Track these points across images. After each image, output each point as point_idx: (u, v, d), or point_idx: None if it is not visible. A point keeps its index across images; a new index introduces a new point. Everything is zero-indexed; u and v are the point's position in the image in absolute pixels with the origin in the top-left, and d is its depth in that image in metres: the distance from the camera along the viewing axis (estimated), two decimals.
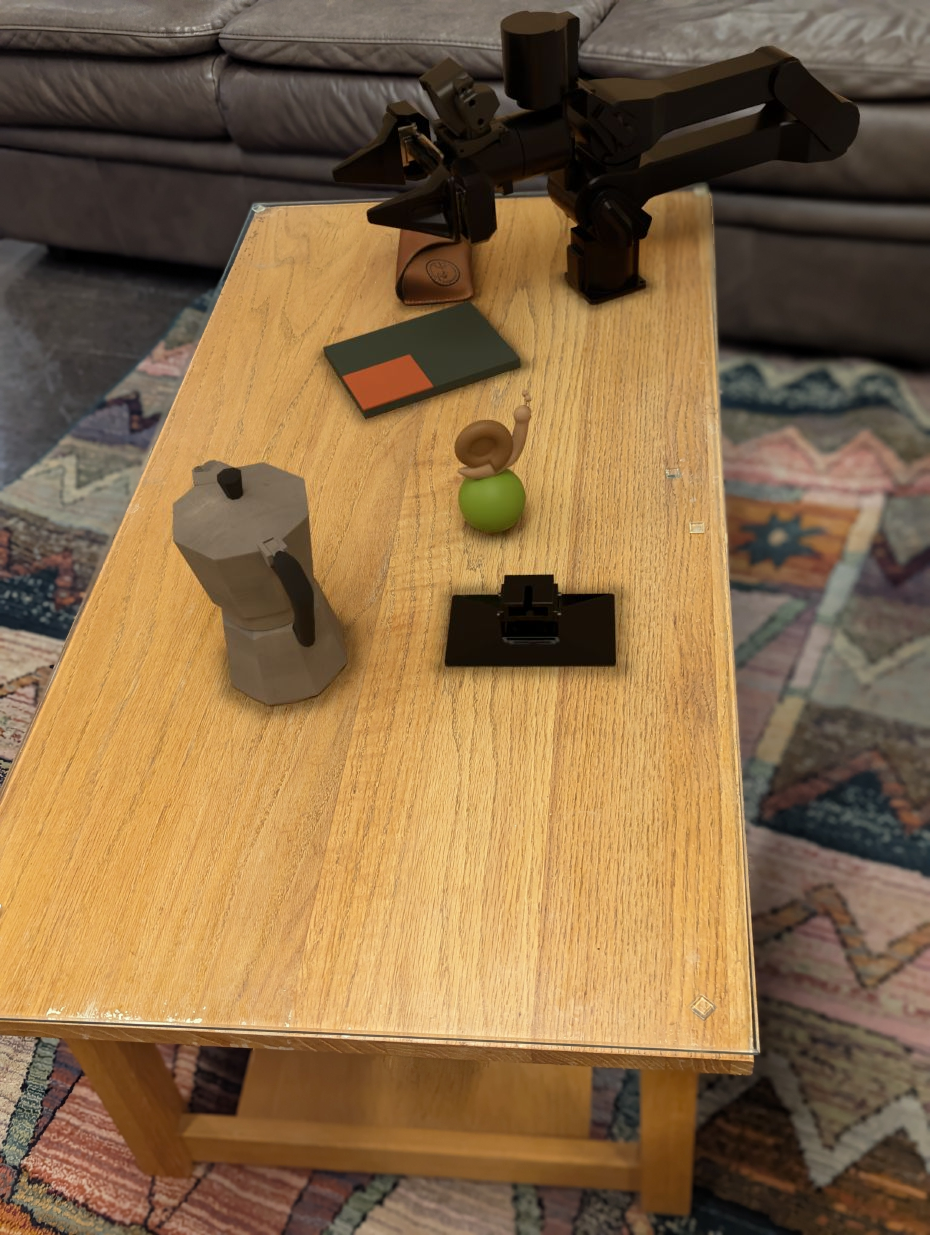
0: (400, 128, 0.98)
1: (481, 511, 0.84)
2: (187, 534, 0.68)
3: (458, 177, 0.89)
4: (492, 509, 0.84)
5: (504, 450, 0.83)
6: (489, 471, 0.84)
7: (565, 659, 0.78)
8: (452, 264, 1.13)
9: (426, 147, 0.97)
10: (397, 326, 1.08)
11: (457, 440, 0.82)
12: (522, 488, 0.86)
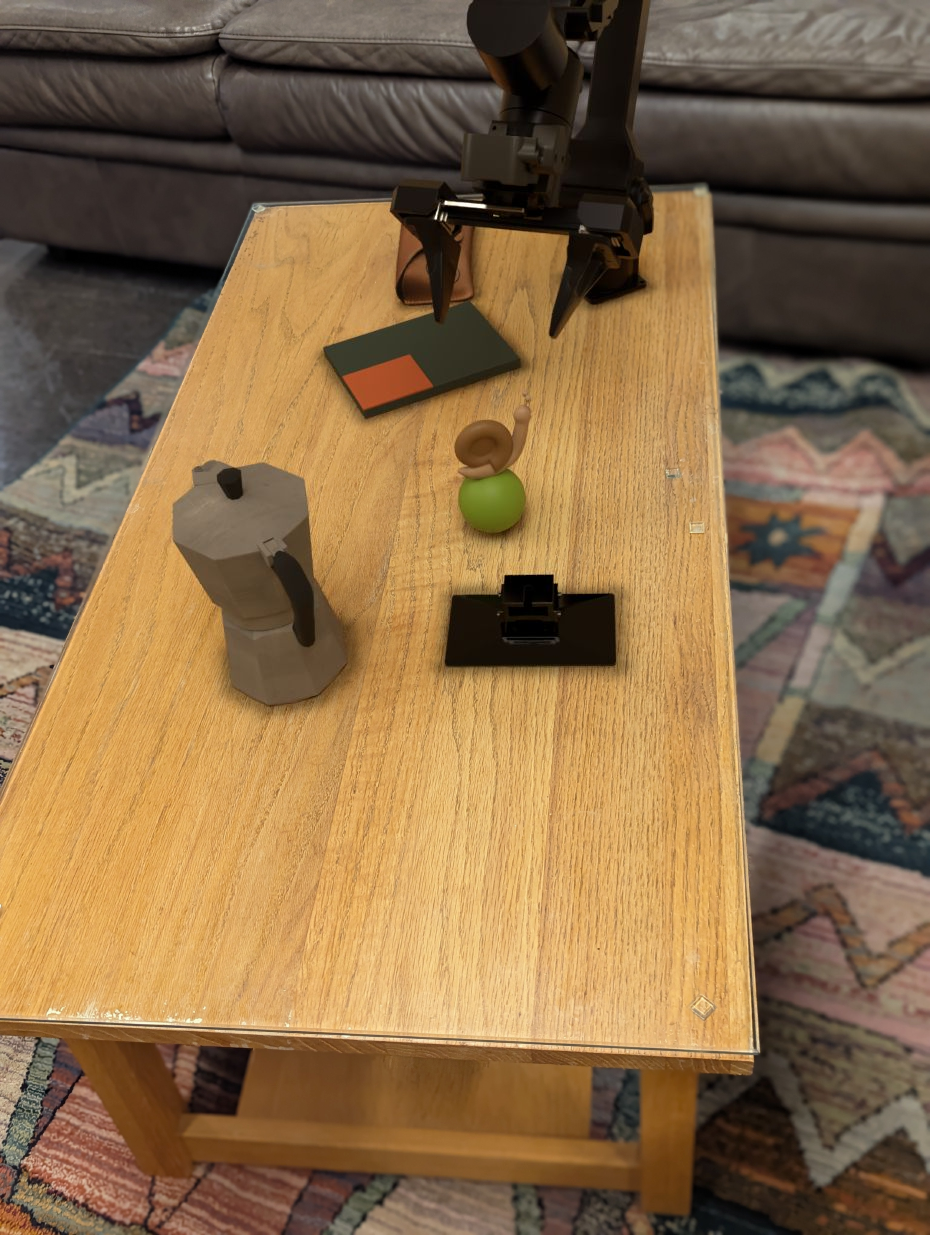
0: (436, 218, 0.82)
1: (481, 511, 0.84)
2: (187, 534, 0.68)
3: (607, 231, 0.77)
4: (492, 509, 0.84)
5: (504, 450, 0.83)
6: (489, 471, 0.84)
7: (565, 659, 0.78)
8: None
9: (481, 210, 0.82)
10: (397, 326, 1.08)
11: (457, 440, 0.82)
12: (522, 488, 0.86)
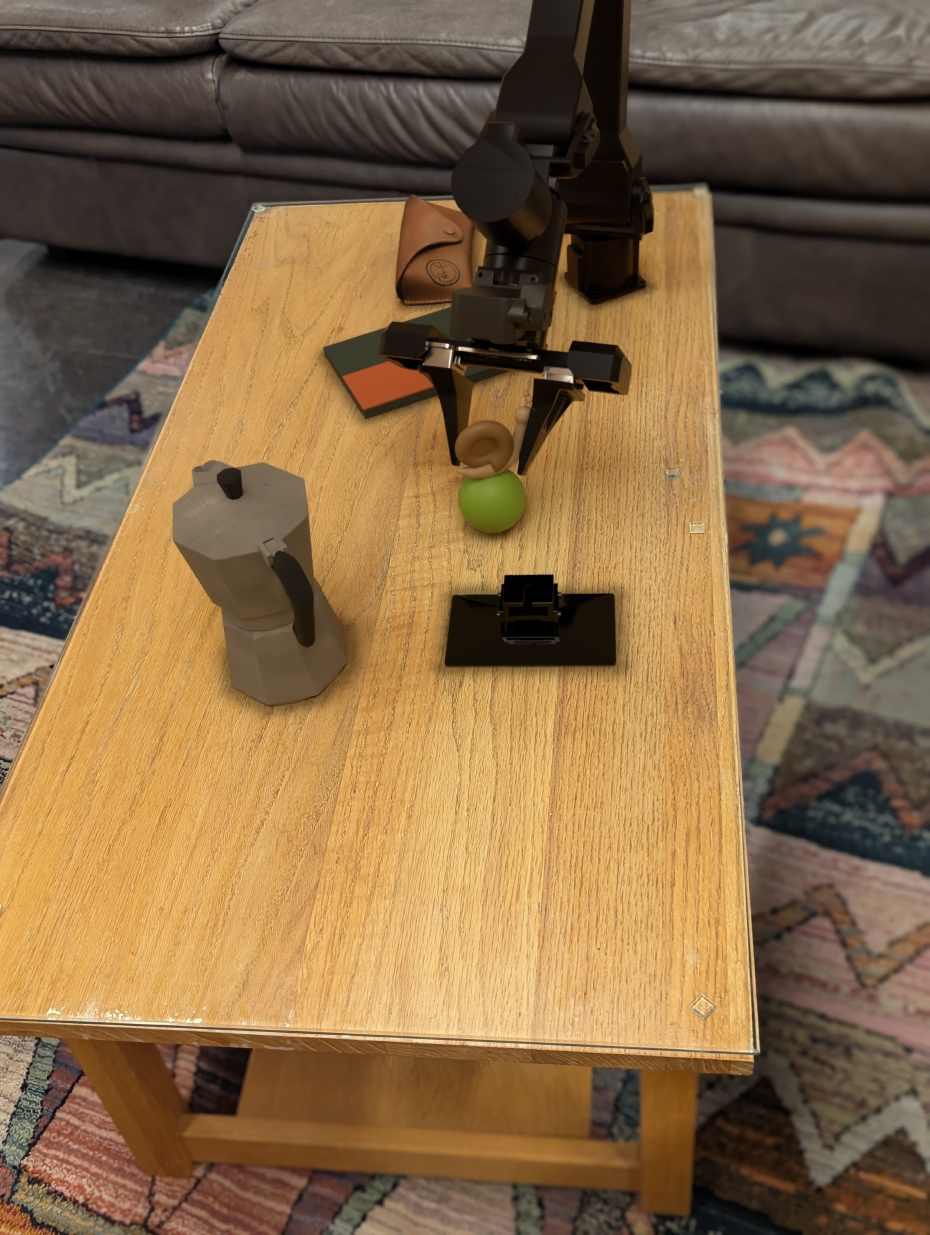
0: (450, 365, 0.81)
1: (481, 511, 0.84)
2: (187, 534, 0.68)
3: (597, 380, 0.78)
4: (492, 510, 0.84)
5: (504, 450, 0.82)
6: (489, 471, 0.84)
7: (565, 659, 0.78)
8: (452, 264, 1.13)
9: (494, 356, 0.81)
10: None
11: (458, 440, 0.81)
12: (522, 488, 0.86)
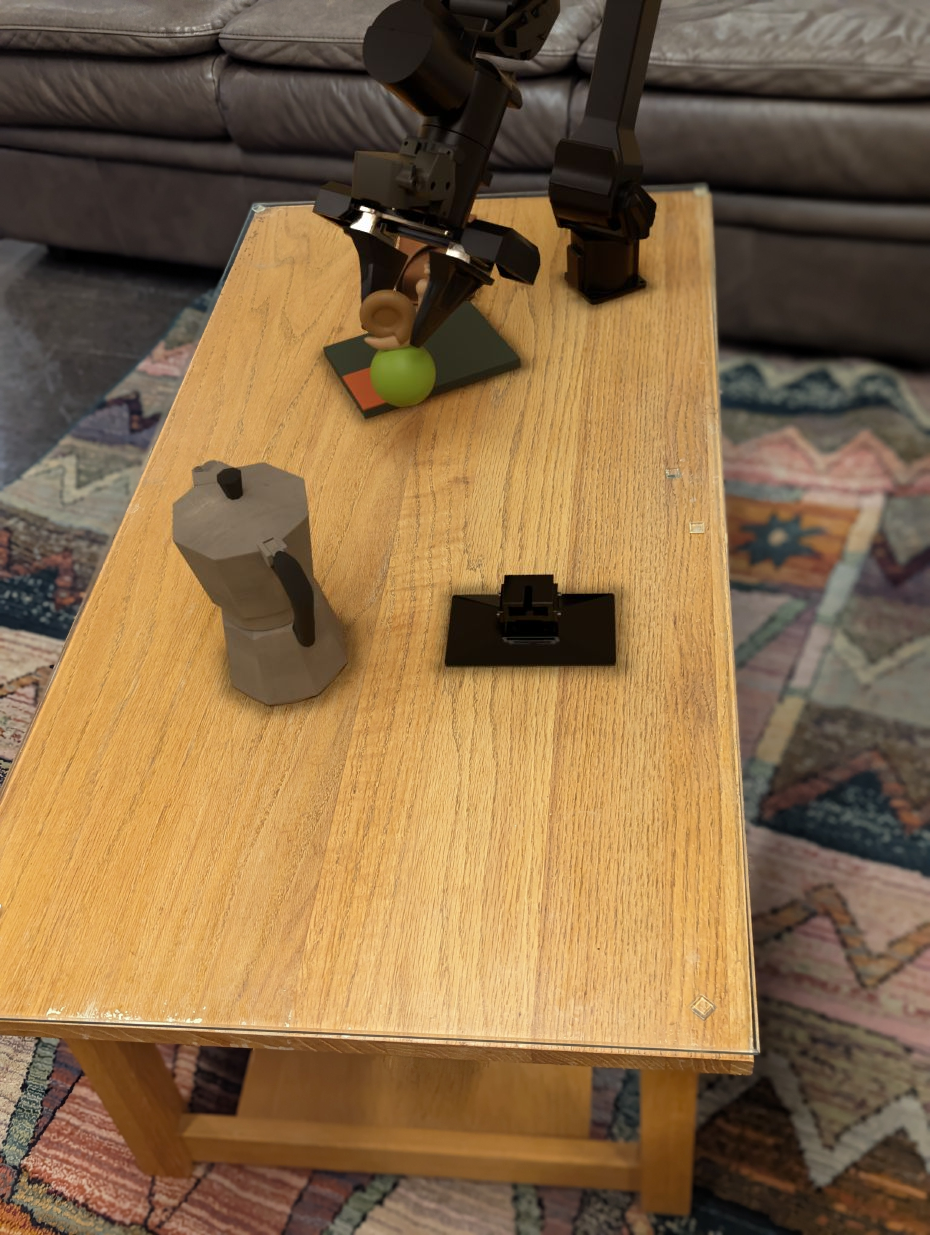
0: (372, 230, 0.84)
1: (383, 382, 0.87)
2: (187, 534, 0.68)
3: (485, 259, 0.79)
4: (393, 381, 0.87)
5: (406, 322, 0.85)
6: (394, 343, 0.86)
7: (565, 659, 0.78)
8: None
9: (414, 227, 0.83)
10: None
11: (360, 307, 0.84)
12: (429, 365, 0.88)
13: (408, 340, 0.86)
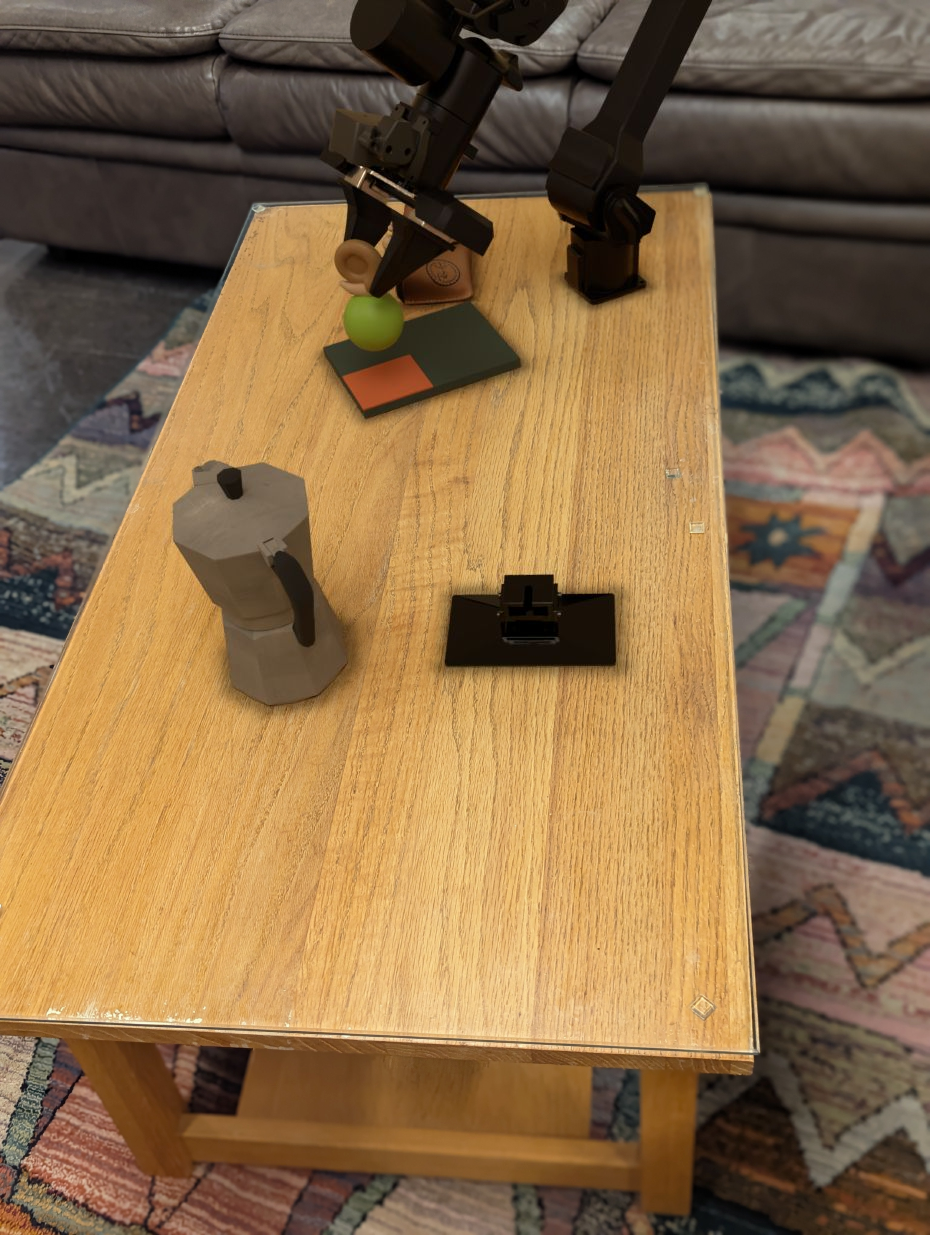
0: (359, 184, 0.92)
1: (349, 324, 0.95)
2: (187, 534, 0.68)
3: None
4: (356, 324, 0.95)
5: (372, 273, 0.92)
6: (363, 290, 0.94)
7: (565, 659, 0.78)
8: (452, 264, 1.13)
9: (393, 187, 0.91)
10: None
11: (335, 252, 0.93)
12: (393, 316, 0.95)
13: None
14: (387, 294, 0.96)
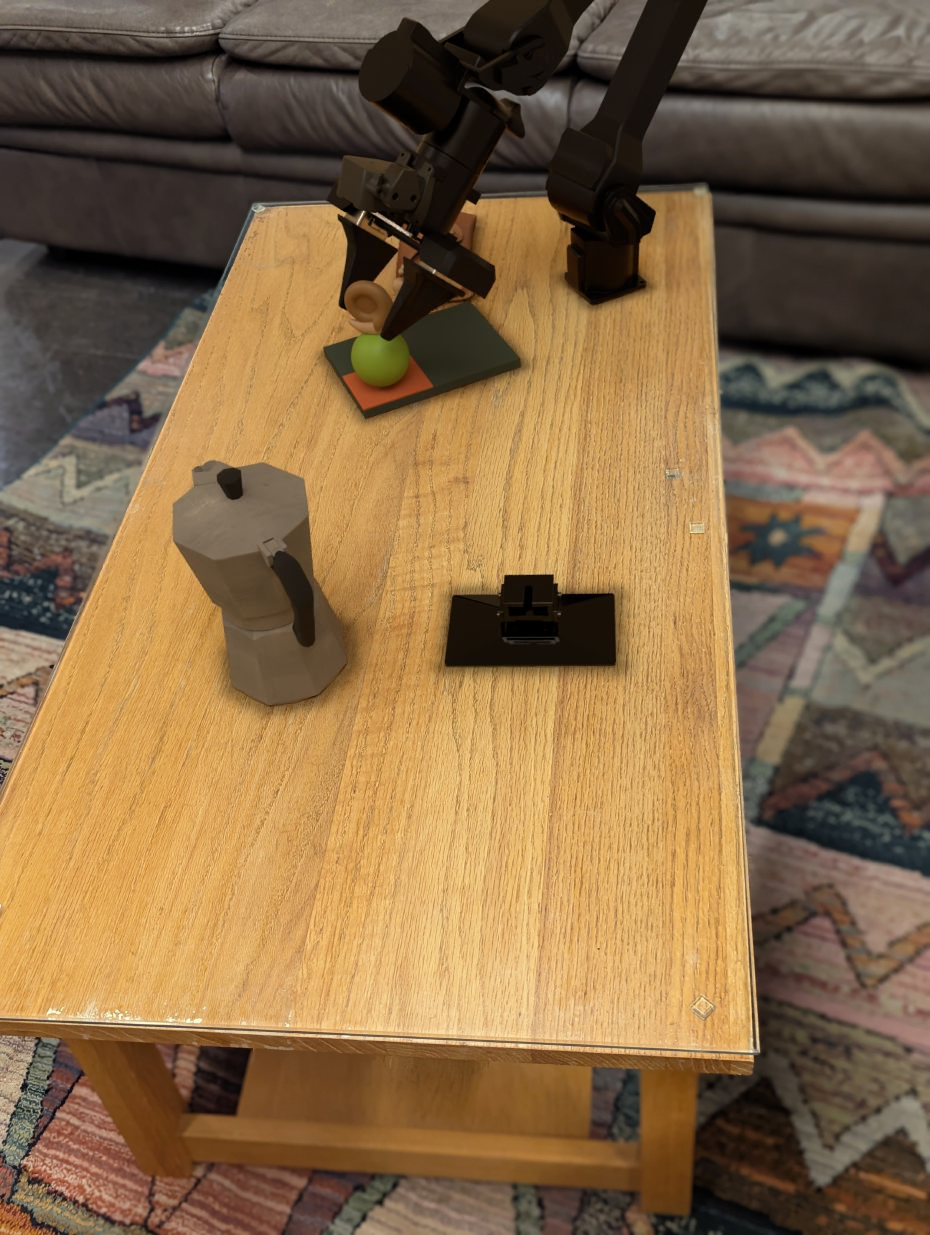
0: (359, 222, 0.95)
1: (357, 360, 0.98)
2: (187, 534, 0.68)
3: (434, 269, 0.88)
4: (364, 361, 0.98)
5: (382, 313, 0.95)
6: (371, 329, 0.97)
7: (565, 659, 0.78)
8: None
9: None
10: None
11: (345, 292, 0.95)
12: (400, 354, 0.98)
13: None
14: None
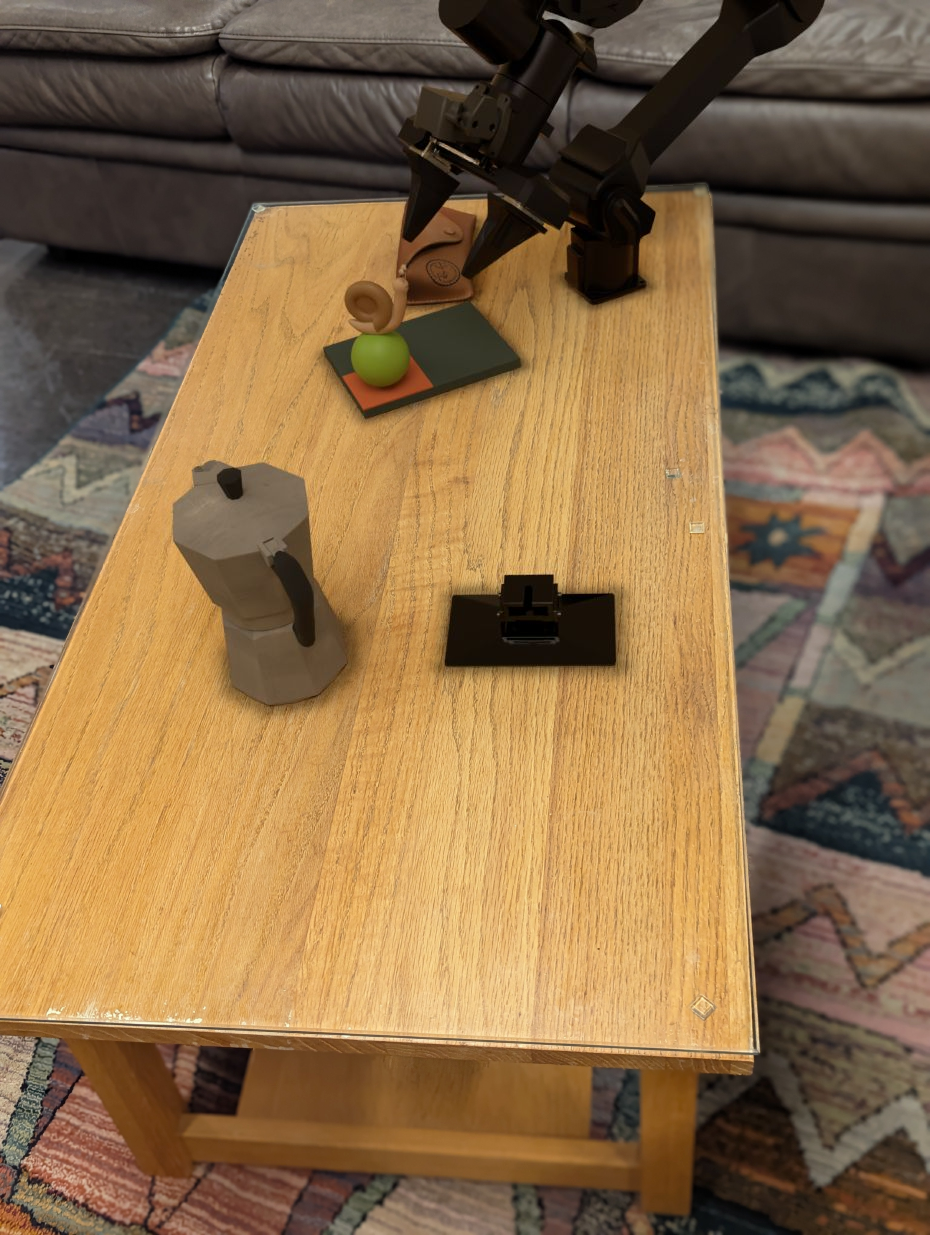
0: (424, 153, 0.97)
1: (357, 361, 0.98)
2: (187, 534, 0.68)
3: (512, 198, 0.88)
4: (364, 361, 0.98)
5: (382, 313, 0.95)
6: (371, 329, 0.97)
7: (565, 659, 0.78)
8: (452, 264, 1.13)
9: (457, 155, 0.95)
10: None
11: None
12: (400, 354, 0.98)
13: (383, 328, 0.97)
14: (394, 332, 0.98)
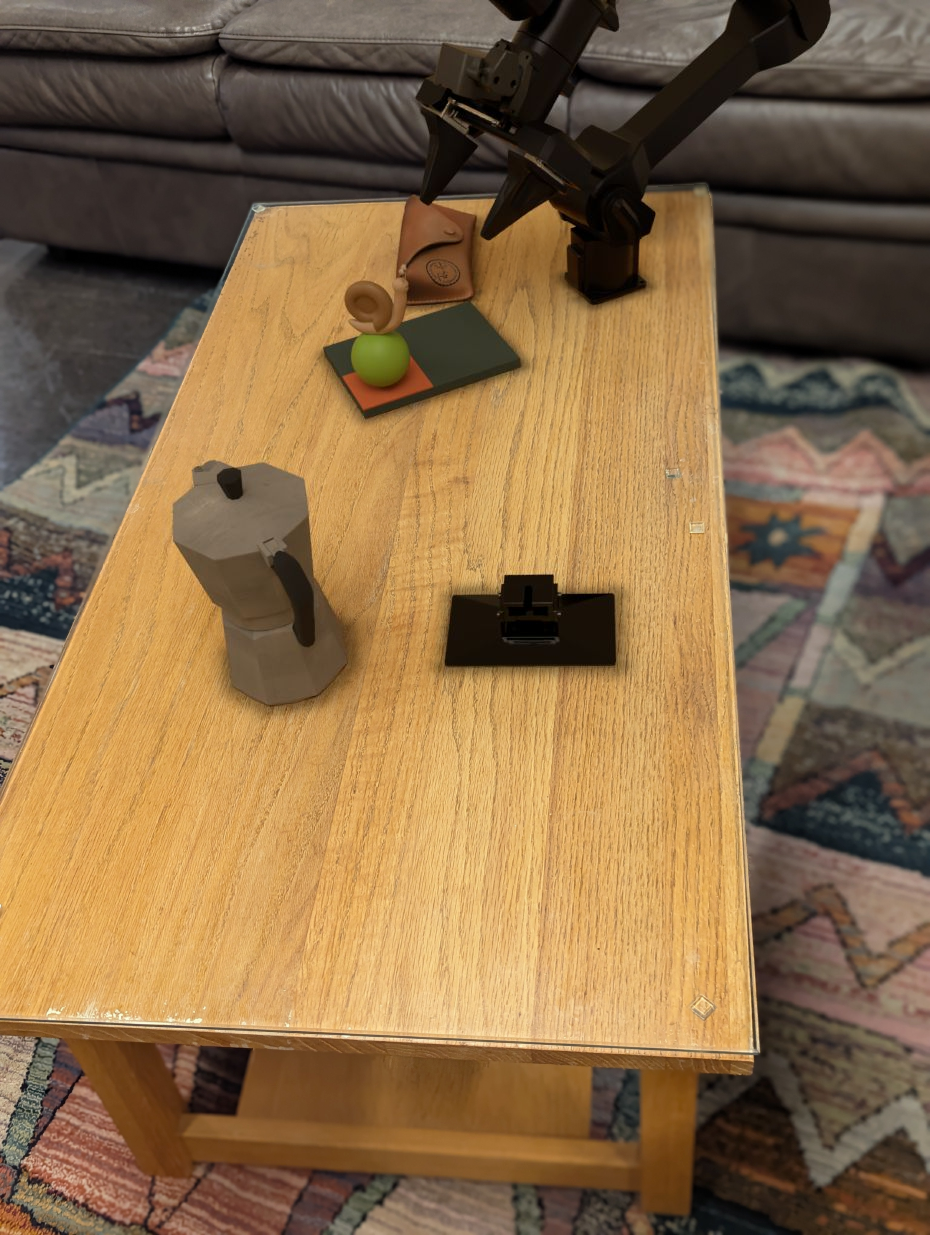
0: (442, 113, 0.96)
1: (357, 361, 0.98)
2: (187, 534, 0.68)
3: (533, 155, 0.87)
4: (364, 361, 0.98)
5: (382, 313, 0.95)
6: (371, 329, 0.97)
7: (565, 659, 0.78)
8: (452, 264, 1.13)
9: (476, 115, 0.94)
10: None
11: None
12: (400, 354, 0.98)
13: (383, 328, 0.97)
14: (394, 332, 0.98)
